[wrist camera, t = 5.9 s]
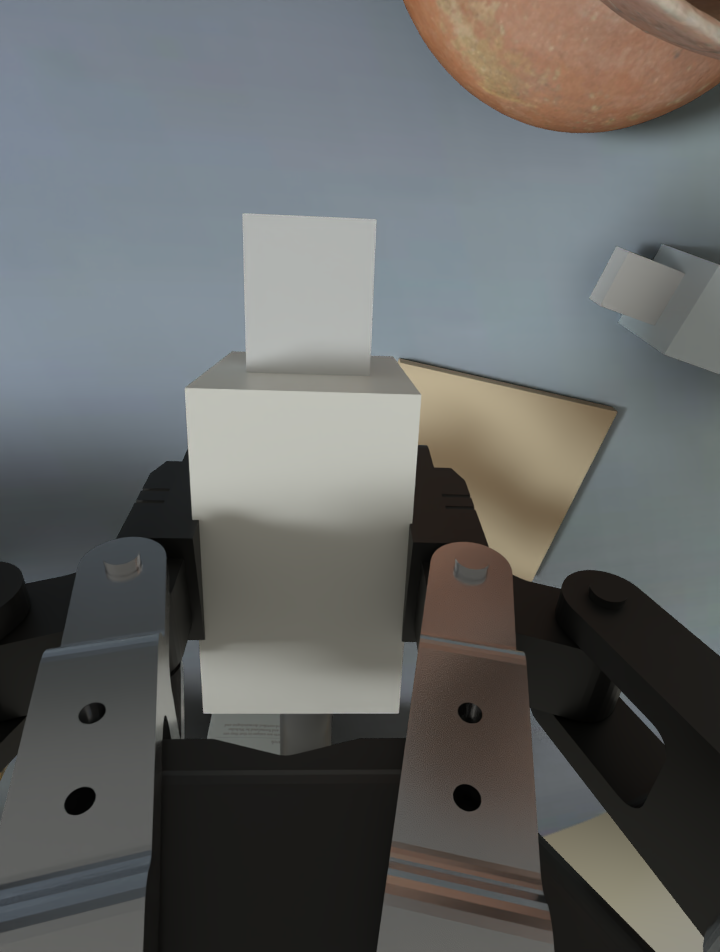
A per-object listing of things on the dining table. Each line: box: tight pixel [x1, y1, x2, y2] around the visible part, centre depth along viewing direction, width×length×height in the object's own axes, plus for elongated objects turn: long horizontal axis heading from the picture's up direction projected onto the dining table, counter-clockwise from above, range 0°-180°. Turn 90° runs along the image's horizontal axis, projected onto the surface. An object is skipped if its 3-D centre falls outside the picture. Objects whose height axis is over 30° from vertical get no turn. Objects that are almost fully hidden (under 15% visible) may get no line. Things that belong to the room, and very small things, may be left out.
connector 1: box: [185, 213, 421, 755], centre depth 12 cm, size 12×4×4 cm, turn 178°
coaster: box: [398, 358, 617, 582], centre depth 31 cm, size 11×11×1 cm
